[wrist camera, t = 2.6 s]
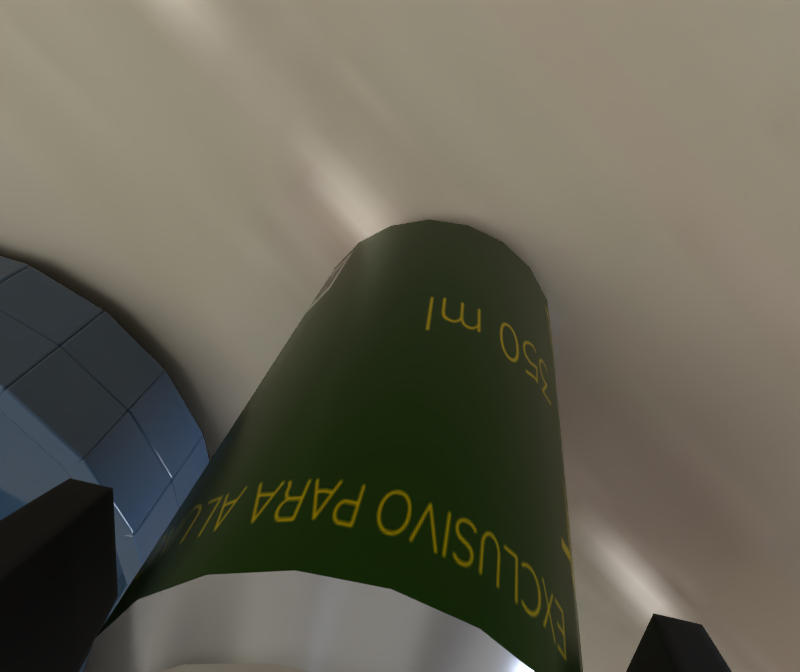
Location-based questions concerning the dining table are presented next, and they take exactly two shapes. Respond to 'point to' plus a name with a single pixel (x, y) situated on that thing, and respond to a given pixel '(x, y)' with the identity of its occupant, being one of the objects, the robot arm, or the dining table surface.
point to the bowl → (89, 414)
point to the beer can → (378, 487)
